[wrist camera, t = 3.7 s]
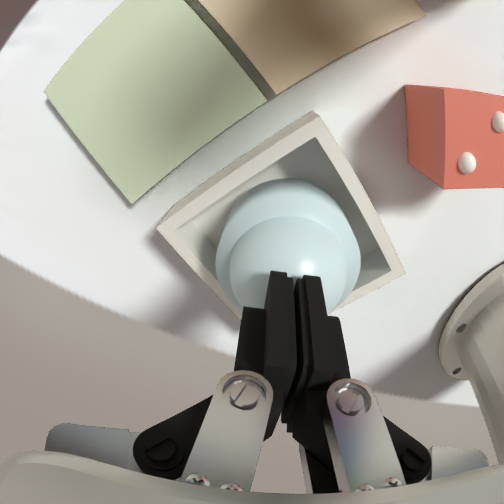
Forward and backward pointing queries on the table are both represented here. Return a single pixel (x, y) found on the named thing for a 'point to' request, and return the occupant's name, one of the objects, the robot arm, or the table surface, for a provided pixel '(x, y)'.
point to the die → (456, 136)
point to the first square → (306, 31)
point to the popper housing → (277, 167)
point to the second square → (150, 91)
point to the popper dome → (286, 242)
